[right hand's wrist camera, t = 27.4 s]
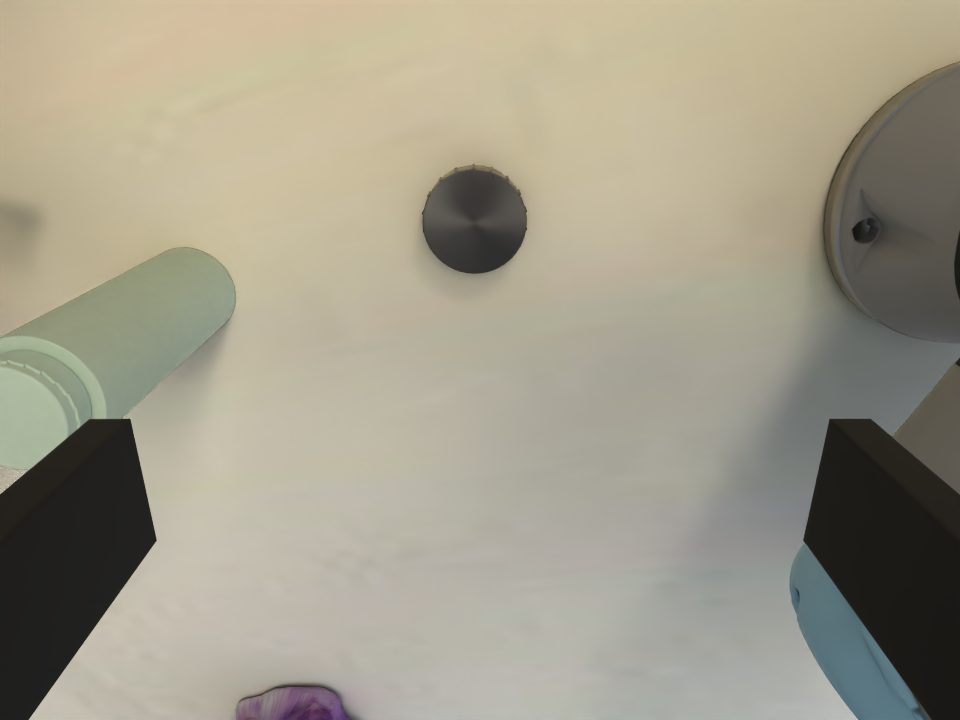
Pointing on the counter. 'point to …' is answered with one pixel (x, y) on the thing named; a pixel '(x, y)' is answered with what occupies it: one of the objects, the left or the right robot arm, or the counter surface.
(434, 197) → the lid
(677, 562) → the counter surface
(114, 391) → the pale green tall cylinder
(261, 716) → the figurine
